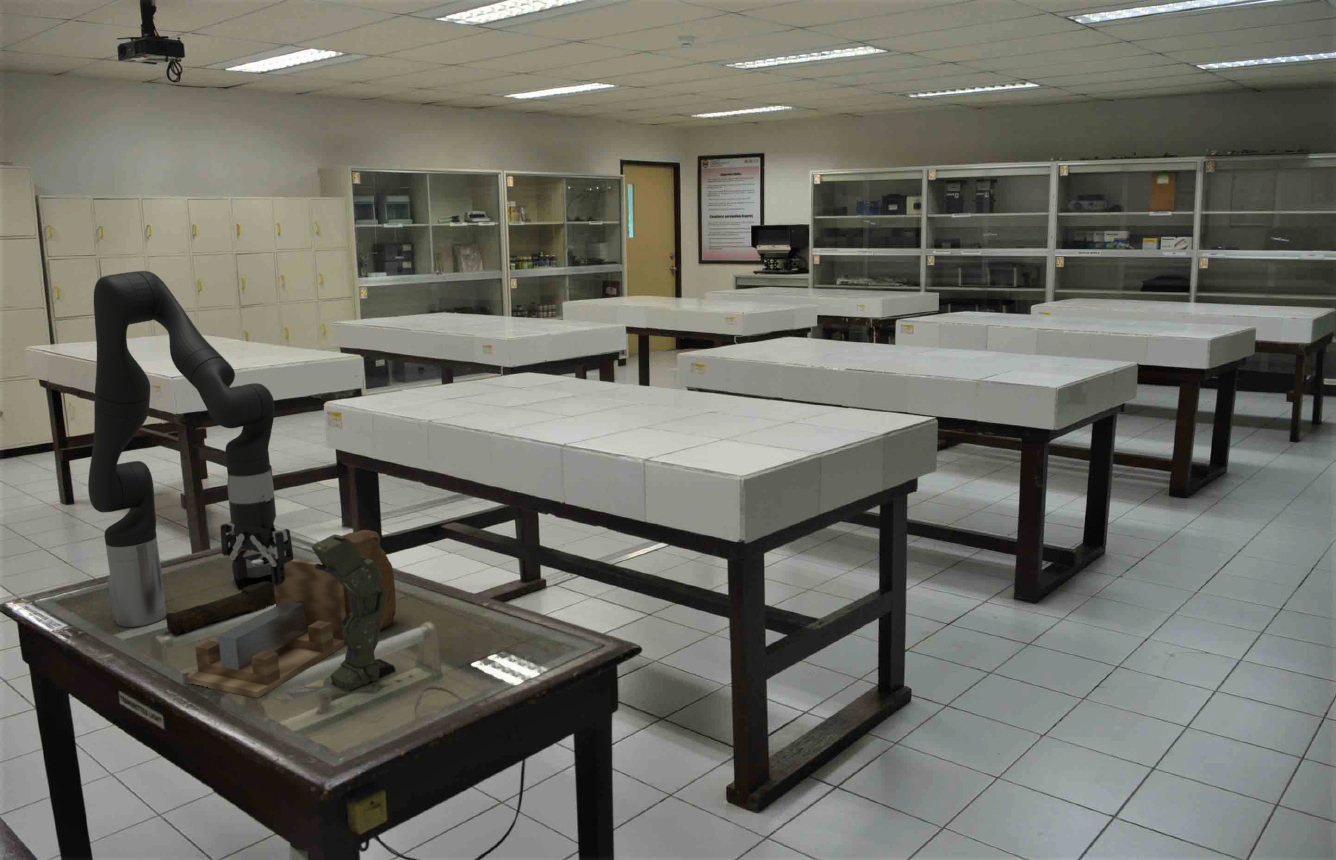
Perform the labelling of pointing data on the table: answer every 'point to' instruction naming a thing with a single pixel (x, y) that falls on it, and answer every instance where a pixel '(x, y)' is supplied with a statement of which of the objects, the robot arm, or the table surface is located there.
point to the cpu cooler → (255, 571)
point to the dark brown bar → (222, 608)
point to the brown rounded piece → (371, 549)
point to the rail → (262, 634)
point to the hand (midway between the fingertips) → (260, 581)
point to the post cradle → (289, 660)
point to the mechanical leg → (356, 610)
